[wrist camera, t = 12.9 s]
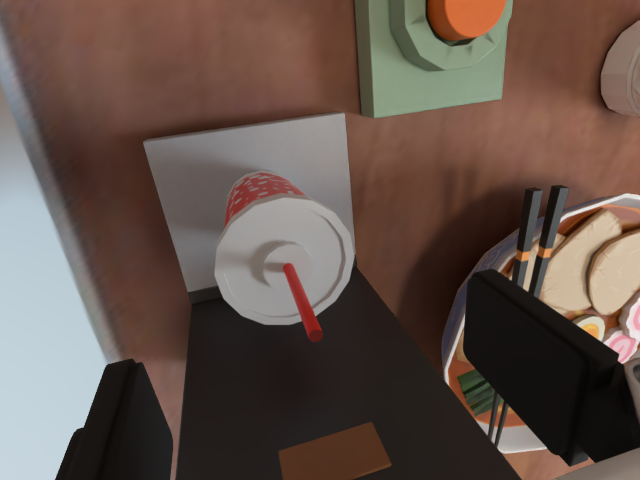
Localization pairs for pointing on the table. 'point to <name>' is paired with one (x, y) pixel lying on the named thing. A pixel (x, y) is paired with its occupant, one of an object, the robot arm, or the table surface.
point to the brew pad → (423, 60)
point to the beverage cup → (281, 253)
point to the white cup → (623, 73)
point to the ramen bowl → (556, 293)
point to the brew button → (464, 17)
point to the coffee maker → (300, 339)
